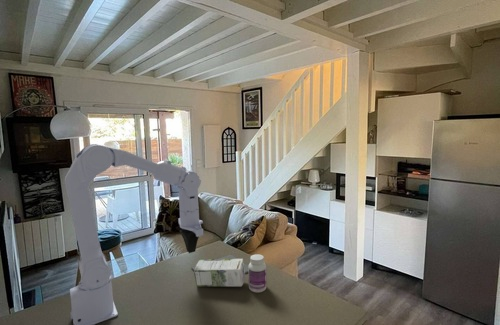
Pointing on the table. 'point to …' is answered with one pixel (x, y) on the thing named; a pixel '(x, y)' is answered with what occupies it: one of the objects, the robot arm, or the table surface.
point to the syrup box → (219, 272)
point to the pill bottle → (257, 273)
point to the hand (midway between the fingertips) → (191, 251)
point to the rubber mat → (230, 258)
